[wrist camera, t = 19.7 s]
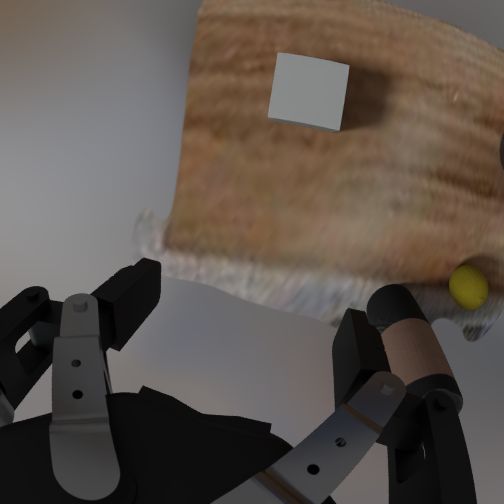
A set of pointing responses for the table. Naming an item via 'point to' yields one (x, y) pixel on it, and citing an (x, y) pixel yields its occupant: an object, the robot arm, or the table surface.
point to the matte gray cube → (308, 92)
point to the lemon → (468, 287)
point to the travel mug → (411, 344)
